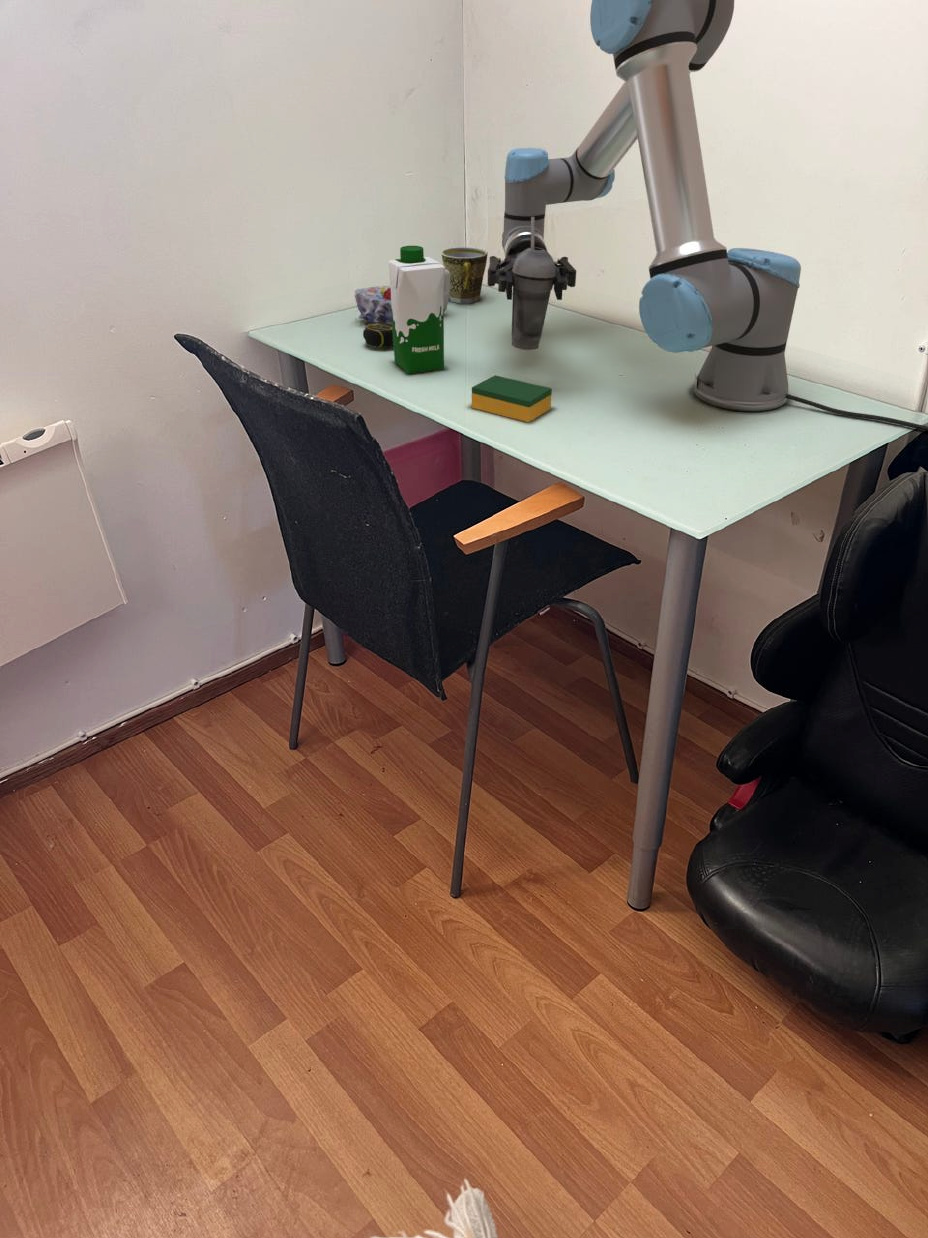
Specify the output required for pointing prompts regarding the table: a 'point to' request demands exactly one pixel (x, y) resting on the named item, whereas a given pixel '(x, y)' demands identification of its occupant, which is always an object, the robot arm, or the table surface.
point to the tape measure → (378, 335)
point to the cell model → (386, 301)
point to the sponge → (511, 398)
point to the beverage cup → (531, 294)
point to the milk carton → (417, 311)
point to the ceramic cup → (465, 273)
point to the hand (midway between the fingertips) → (534, 290)
